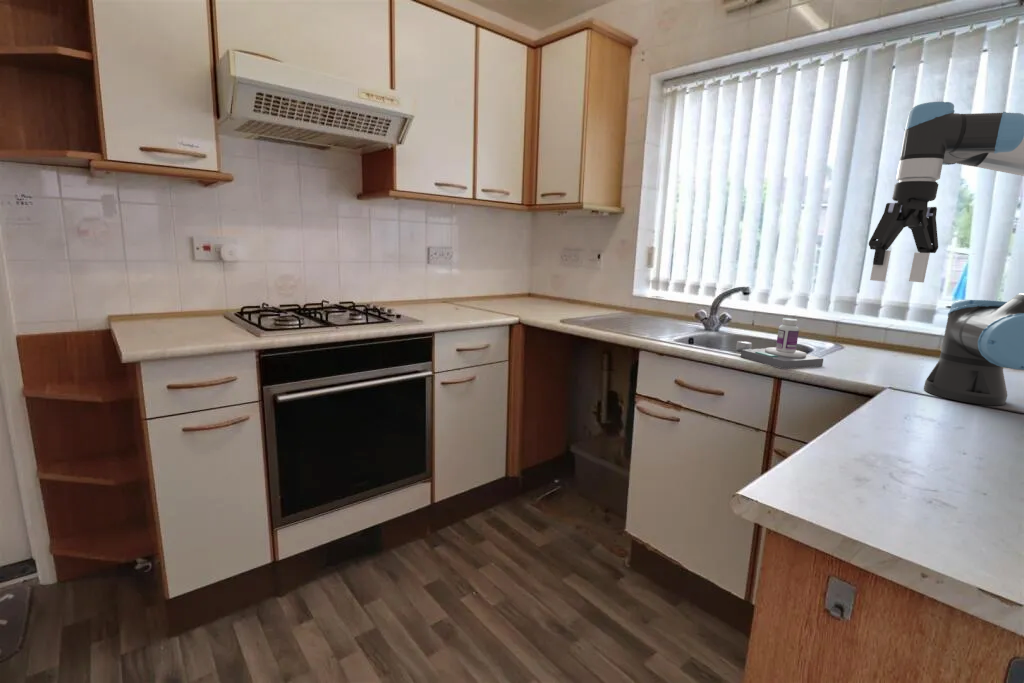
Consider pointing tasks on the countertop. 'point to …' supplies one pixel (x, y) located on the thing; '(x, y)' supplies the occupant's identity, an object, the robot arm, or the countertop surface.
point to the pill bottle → (787, 336)
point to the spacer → (743, 345)
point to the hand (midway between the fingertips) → (897, 281)
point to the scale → (782, 358)
